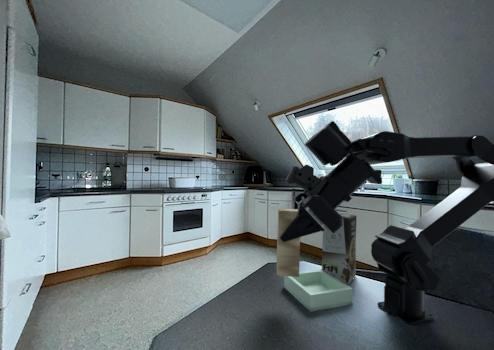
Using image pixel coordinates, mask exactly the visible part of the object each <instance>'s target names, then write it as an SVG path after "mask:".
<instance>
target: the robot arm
mask: <svg viewBox="0 0 494 350" xmlns="http://www.w3.org/2000/svg"><path fill="white" fill-rule="evenodd" d="M304 146H305V148H307V149H308V151H310V152H311V154H313V156H315V158H316V159H317V160H318V161H319V162H320V164H322V165H323V166H327V165H328V164H329V165H330V166H332V167H334V166H335V165H336V166H335V167H334V168H333V169H332V170H331V171H330V172H329V173H328V174H326V175H324V176H323V175H321V176H320V177H318V176H317V175H315V171H314V169H315V168H314V167H313V166H311V165H309V164H304V165H303V166H301V167H298V166H295V165H293V166H292V167H291V169H290V170H289V173H288V174H287V177H286V179H285V182H286V183H289V184H293V185H295V186H296V187H298V188H300V189H303V190H304V191H303V192H298V193H296V195H294V196H293V197H292V198H293V200H292V201H293V202H292V203H293V204H292V205H293V208H292V209H298V213H297V216H296V217H295V219H294V220H293V221H292V222H291V224H290V225H289V226H288V227H287V229H286V230H285V231H284V233H283V234H282V235H281V237H280V239H281V240H282V241H283V242H286V241H289V240H292V239H296V238H299V237H300V238H301V237H305V236H309V235H313V234H316V233H319V232H322V233H323V231H325V230H324V229H323V225H325V226H326V228H327V229H328V230H329V231H330V232H332V233H333V234H334V233H335V232H336V231H337V230H338V229H339V228H340V227H341V226H342V217H341V216H340V214H341V213H339V212H338V211H337V210H336V209H337V208H338V207H339V206H341V205H342V204H343V203H344V202H346V203H349V202H350V201H351V200H352V199H353V198H352V197H351V196H352V195H353V194H354V193H355V192H356V191H357V190H358V189H360V187H362V186H363V185H364V184H365V183H366V182H368V183H370V184H373V185H374V184H375V185H382V184H383V178H382V170H381V169H375V168H374V167H372V165H378V164H385V163H386V164H387V163H391V162H392V163H393V162H396V161H401V160H402V161H403V160H406V159H423V158H424V159H425V158H426V159H427V158H428V159H429V158H431V159H432V158H452V159H454V160H455V163H456V169H457V172H459V173H460V174H461V175H462V177H461V179H460V187H459V188H457V189H456V190H455V191H453V192H452V193H450V194H449V195H448V196H447V197H445V198H444V199H443V200H441V201H440V202H439V203H437V204H436V205H434V206H433V207H432V208H431V209H429V211H427V212H425V214H423V215H422V216H420V217H419V218H418V219H416V220H415V221H414V222H413V223H411V224H410V225H408V226H407V227H404V228H403V227H400V226H396V225H392V224H391V225H389V226H387V227H386V228H385V229H384V230H383V231H382V232H381V233H379V234H375V235H374V237H375V238H376V239H374V241H373V242H372V243H371V245H370V246H371V247H370V248H371V250H370V252H371V257H372V259H373V260H374V261H375V262H376V264H377V265H376V266H377V268H378V270H379V271H381V272H383V274H386V276H385V278H384V279H385V280H384V281H385V282H384V287H383V289H384V290H383V293H384V294H383V301H378V302H377V307H380V308H381V309H383V310H385V311H386V312H388V313H389V314H391V315H393V316H395V317H396V318H397V319H399V320H401V321H403V322H404V323H406V324H408V325H416V324H420V323H423V322H428V321H431V320H434V319H435V316H434V315H433V314H431V313H430V312H427V311H426V310H425V309H426V308H425V307H426V296H425V295H426V293H425V292H429V291H433V290H435V291H436V289H437V286H438V285H439V281H440V277H439V276H438V275H437V274H436V273H435V272H434V271H433V270H432V268H431V267H429V265H428V264H429V263H430V262H431V259H432V254H433V253H432V252H433V248H434V247H435V245H437V244H438V243H440V242H441V241H442V240H444V239H445V238H446V237H447V236H448V235H450V234H451V233H452V232H454V231H456V230H457V229H458V228H459V227H460V226H461V225H462V224H464V223H465V222H467V221H468V220H469V219H470V218H472V217H473V216H474V215H475V214H477V213H478V212H479V211H480V210H482V209H484V208H485V207H486V206H487V205H488V204H490V203H493V202H494V143H493V142H492V141H490V140H489V139H488V138H487V137H486V136H485V135H479V134H478V135H477V134H473V135H469V136H434V137H433V136H432V137H431V136H429V137H428V136H426V137H425V136H424V137H414V136H408V135H406V134H404V133H403V132H402V133H401V132H395V131H387V130H385V131H384V130H383V131H379V132H377V133H374V134H372V135H369V136H366V137H363V138H357V139H355V140H353V141H352V140H350V139H349V138H348V136H347V135H346V134H345V133H344V132H343V131H342V130H341V128H340V127H339V125H338V124H337V123H336V122H335V121H334V120H331V121H330V122H329V123H327V124H326V125H325V126H324V127H323V128H322V129H320V130H319V131H318V132H316V133H314V134H313V135H312V136H311V137H310V138H309V139H308V140H307V141H306V142H305V143H304ZM471 157H477V158H478V159H480V160H482V161H483V162H480V163H475V161H474V160H472V159H471Z"/></svg>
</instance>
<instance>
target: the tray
mask: <svg viewBox="0 0 494 350" xmlns="http://www.w3.org/2000/svg"><path fill="white" fill-rule="evenodd" d="M283 287H284V289H285V290H286V291H287V292H288V293H290V294H291V295H292V297H294V298H295V299H296V300H297V301H298V302H299V303H300V304H302V306H303V307H304V308H306V309H307V310H308V311H309V312H316V311H323V310H328V309H332V308H333V309H334V308H339V307H345V306H349V305H353V304H354V303H353V302H354V288H352V287H351V286H347V285H346V284H344V283H342V282H341V281H339V280H337V279H336V278H334V277H332V276H330V275H329V274H327V273H325V272H324V271H322V269H317V270H308V271H307V270H306V271H299V277H291V276H283Z"/></svg>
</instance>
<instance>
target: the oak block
mask: <svg viewBox="0 0 494 350" xmlns="http://www.w3.org/2000/svg"><path fill="white" fill-rule="evenodd" d="M297 213H298V209H293V208H282V207H281V208H279V207H278V210H277V215H278V216H277V237H276V238H277V239H276V241H277V242H276V243H277V245H276V275H277V276H280V277H284V276H291V277H299V272H300V262H301V261H300V257H301V253H300V251H301V250H300V249H301V237H299V238H296V239H292V240H289V241H286V242H283V241H282V240H281V239H280V237H281V235H282V234H283V233H284V231H285V230H286V229H287V227H288V226H289V225H290V224H291V222H292V221H293V220H294V219H295V217H296V216H297Z"/></svg>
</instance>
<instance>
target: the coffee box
mask: <svg viewBox="0 0 494 350" xmlns="http://www.w3.org/2000/svg"><path fill="white" fill-rule="evenodd" d="M339 214H340V216H341V217H342V226H341V227H340V228H339V229H338V230H337V231H336V232H335V233H334V234H333V233H332V232H330V231H329V230H328V229H327V228H326V226H325V225H323V226H322V228H323V229H324V230H325V231H323V232H322V247H321V248H322V251H321V253H322V254H321V270H322V271H324V272H325V273H327V274H329V275H330V276H332V277H334V278H336V279H337V280H339V281H341V282H342V283H344V284H346V285H347V286H349V285H350V284H351V283H352V281H354V279H355V277H356V272H357V271H356V268H357V267H356V265H357V264H356V261H357V215H356V214H346V213H339ZM354 276H355V277H354ZM353 278H354V279H353ZM349 287H350V286H349Z"/></svg>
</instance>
